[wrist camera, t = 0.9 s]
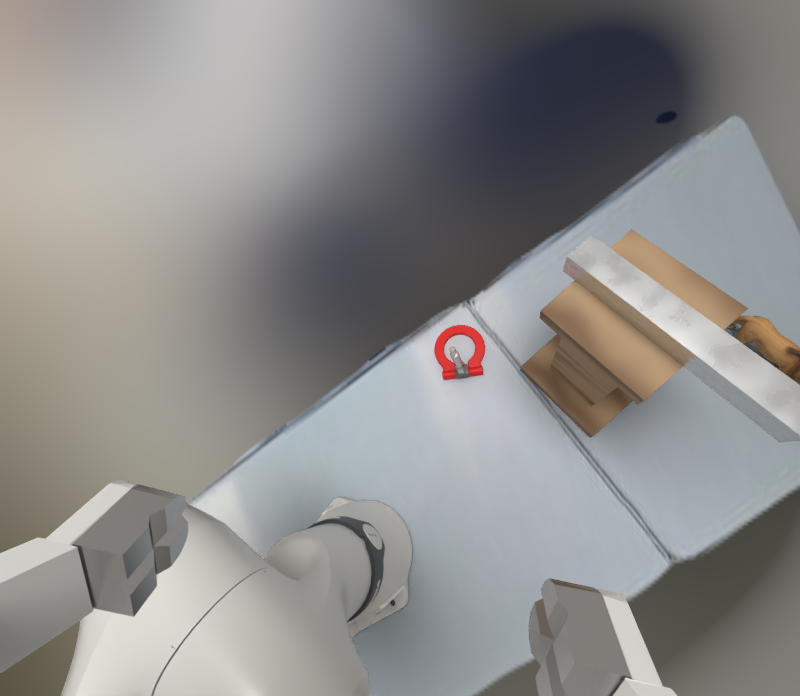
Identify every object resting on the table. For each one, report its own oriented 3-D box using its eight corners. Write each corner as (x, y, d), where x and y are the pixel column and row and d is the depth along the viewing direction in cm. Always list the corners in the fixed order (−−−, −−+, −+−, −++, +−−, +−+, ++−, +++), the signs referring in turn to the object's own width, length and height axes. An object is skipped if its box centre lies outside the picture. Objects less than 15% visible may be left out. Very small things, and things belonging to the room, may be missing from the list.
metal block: (779, 442, 31) (806, 440, 28) (562, 270, 39) (566, 256, 36) (808, 417, 31) (838, 412, 28) (585, 250, 39) (590, 234, 36)
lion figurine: (825, 373, 52) (885, 355, 44) (801, 403, 52) (856, 391, 44) (714, 312, 58) (748, 286, 50) (692, 339, 58) (722, 317, 49)
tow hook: (433, 331, 69) (438, 381, 66) (417, 299, 58) (423, 359, 54) (481, 323, 68) (489, 374, 64) (474, 289, 56) (483, 349, 52)
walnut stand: (589, 437, 58) (645, 416, 34) (520, 369, 63) (525, 310, 39) (661, 373, 57) (768, 308, 33) (585, 311, 63) (630, 216, 39)
